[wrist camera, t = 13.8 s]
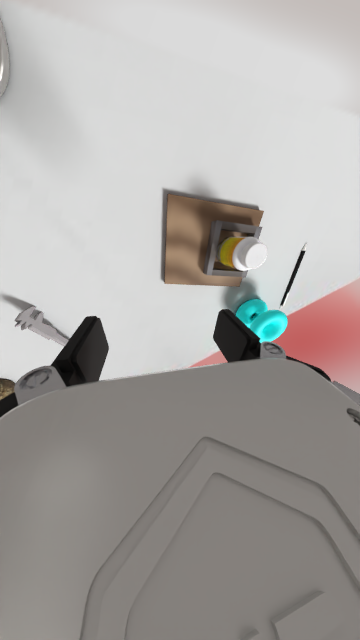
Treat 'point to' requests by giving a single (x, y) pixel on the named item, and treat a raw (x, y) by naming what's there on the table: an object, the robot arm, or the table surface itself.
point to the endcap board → (204, 240)
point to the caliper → (38, 326)
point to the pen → (293, 276)
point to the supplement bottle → (241, 252)
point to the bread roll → (6, 388)
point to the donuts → (262, 319)
